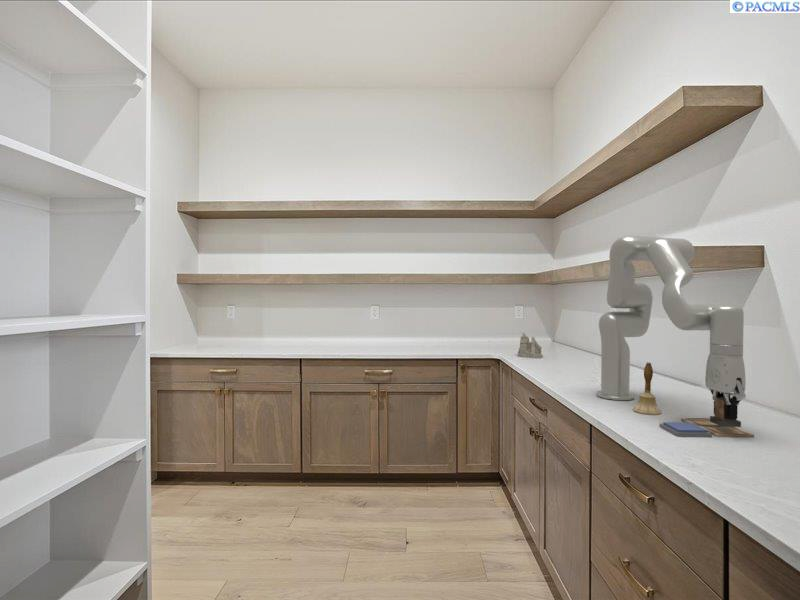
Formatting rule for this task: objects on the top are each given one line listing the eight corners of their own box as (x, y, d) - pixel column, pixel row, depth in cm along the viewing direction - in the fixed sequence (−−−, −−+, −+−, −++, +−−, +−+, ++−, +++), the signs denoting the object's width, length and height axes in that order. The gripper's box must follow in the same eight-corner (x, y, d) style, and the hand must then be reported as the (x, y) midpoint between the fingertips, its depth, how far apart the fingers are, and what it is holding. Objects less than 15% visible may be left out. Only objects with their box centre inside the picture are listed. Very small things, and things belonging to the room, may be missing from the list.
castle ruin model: (538, 358, 270) (538, 333, 271) (512, 357, 281) (512, 332, 282) (549, 357, 282) (549, 333, 282) (524, 356, 292) (524, 332, 293)
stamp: (710, 421, 129) (710, 396, 129) (727, 421, 129) (728, 397, 129) (722, 426, 124) (722, 400, 124) (740, 426, 124) (741, 401, 124)
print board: (680, 420, 139) (680, 417, 139) (714, 420, 139) (714, 418, 139) (716, 436, 123) (716, 434, 123) (754, 437, 123) (754, 434, 123)
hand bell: (652, 408, 153) (652, 360, 153) (667, 415, 145) (668, 364, 145) (627, 408, 153) (628, 360, 153) (641, 415, 145) (642, 364, 145)
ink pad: (659, 426, 132) (659, 421, 132) (691, 427, 132) (691, 421, 132) (677, 436, 123) (677, 430, 123) (711, 437, 123) (711, 431, 123)
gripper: (693, 347, 135) (693, 409, 135) (733, 354, 118) (732, 425, 119) (719, 347, 135) (718, 409, 135) (763, 354, 118) (762, 425, 118)
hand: (725, 416), depth 127 cm, fingers closed on stamp, 3 cm apart
